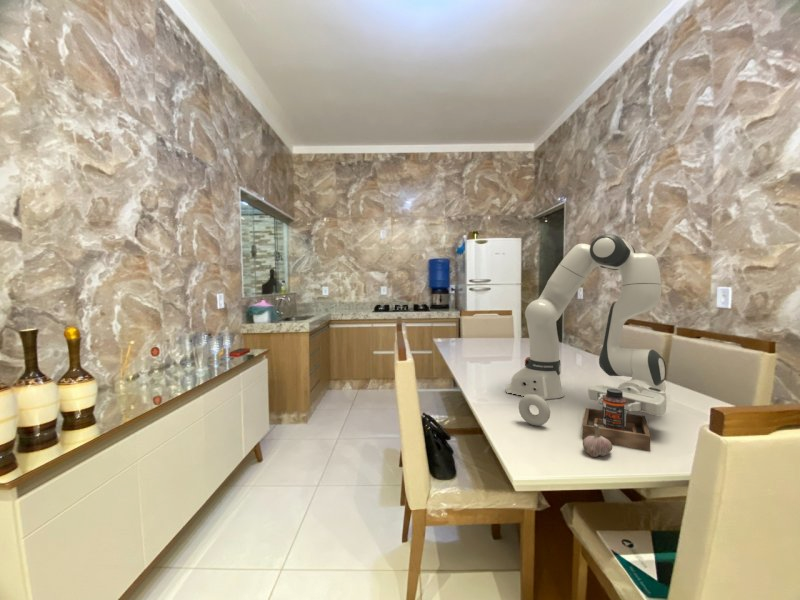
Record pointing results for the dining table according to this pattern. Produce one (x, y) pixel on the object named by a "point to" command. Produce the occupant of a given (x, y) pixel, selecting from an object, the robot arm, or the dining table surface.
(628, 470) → the dining table surface
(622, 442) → the walled box
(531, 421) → the donut
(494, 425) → the dining table surface
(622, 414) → the supplement bottle
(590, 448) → the garlic bulb
